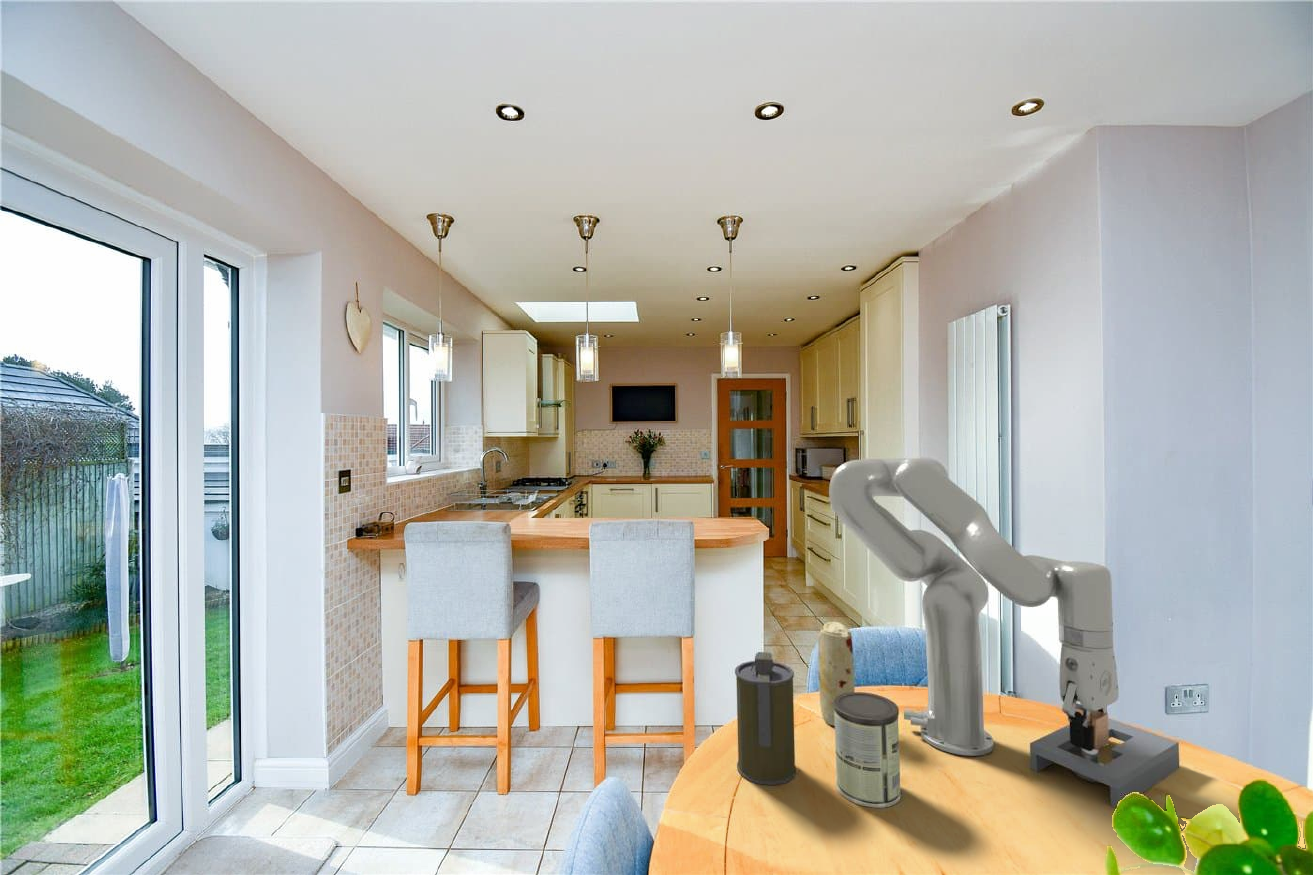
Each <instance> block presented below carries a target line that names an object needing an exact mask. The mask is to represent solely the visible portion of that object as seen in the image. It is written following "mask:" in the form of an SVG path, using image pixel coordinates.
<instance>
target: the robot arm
mask: <svg viewBox="0 0 1313 875" xmlns="http://www.w3.org/2000/svg"><path fill="white" fill-rule="evenodd" d="M828 488H829V489H828V494H829V495H828V496H829V502H830V506H831V507H832V510H833V511H834V513H835V515H836V516H837V517H838V519H839V520H840V521H841V523H842V524H844V526H845V527H846V528H847V529H848V530H849V531H850V532H851V533H852V534H854V535H855V537H857V539H858V540H859V541H860V542H861V543H863V545H864V546H865V547H866V548H867V549H868V550H869V551H870V552H871V553H872V554H873V555H874V556H875V557H876V558H877V559H878V560H879V561H880V562H881V563H882V564H883V565H884V566H885V567H886V568H887V569H888V570H889V572H890V573H891V574H893V575H894V576H895V577H897V578H898V579H899V580H901V581H904V582H908V583H910V582H912V583H914V582H918V581H921V582H923V584H924V585H926V588H925V590H924V592H923V594H922V595H923V596H922V601H921V603H922V604H921V605H922V615H923V622H924V629H925V643H926V644H925V645H926V648H925V649H926V666H927V667H926V670H927V671H926V673H927V676H926V677H927V705H926V706H925V710H922V709H920V711H916V710H913V709H906V708H904V709H903V720H904V721H905V720H906V721H910V726H917V727H918V726H920V735H921V738H922V739H923V740H924V741H926V743H928V744H929V745H930V746H933V748H936V749H939V750H940V751H943V752H947V753H950V754H953V755H959V756H965V757H966V756H967V757H978V756H984V755H987V754H989V753H990V752H992V751H993V750H994V747H995V744H994V741H995V740H994V738H993V736H992V735H991V734H990V733H989V732H988V731H986V730H984V729H985V727H984V726H985V725H984V695H983V694H984V693H983V690H984V688H983V686H984V685H983V662H982V660H983V659H982V658H983V656H982V642H981V641H982V640H981V632H980V624H979V623H980V622H979V620H980V619H979V618H980V617H979V616H980V613H981V612H982V611H983V609H984V608H985V607H986V605H987V603H988V601H989V588H988V585H987V583H986V581H987V582H988V583H989V584H990V585H991V586H992V587H994V588H995V589H996V590H997V591H998V592H999V593H1000V594H1002V595H1003V596H1004V597H1005V598H1006V599H1008V600H1009V601H1011V602H1012V603H1014V604H1016V605H1019V606H1021V607H1025V608H1036V607H1040V606H1042V605H1044V604H1046V603H1047V602H1048V600H1050V599H1051V598H1053V597H1054V598H1056V600H1057V615H1058V616H1057V618H1058V642H1059V643H1061V647H1060V658H1059V694H1060V695H1059V696H1060V699H1061V701H1062V702H1063V703H1062V708H1061V712H1062V713H1064V714H1065V715H1066V716H1067V720H1068V722H1069V724H1070V743H1071V744H1072V745H1075V746H1077V747H1080V748H1082V749H1085V750H1088V751H1092V750H1093V731H1092V727H1091V726H1089V725H1090V712H1095V711H1100V712H1103V713H1106V714H1108V706H1109V705H1112V704H1114V703H1116V702H1117V701H1118V699H1119V681H1118V672H1117V664H1116V663H1117V662H1116V656H1115V651H1114V628H1113V627H1114V625H1113V624H1114V622H1113V617H1114V616H1113V594H1112V593H1113V590H1112V588H1113V587H1112V574H1111V571H1110V570H1109V569H1108V568H1107V567H1106V566H1104V565H1101V564H1099V563H1094V562H1093V563H1092V562H1087V561H1063V560H1060V559H1053V558H1048V557H1044V556H1038V555H1023V554H1021V553H1020V552H1019V551H1018V550H1016V548H1014V546H1012V545H1011V544H1010V543H1009V542H1008V541H1007V540H1006V539H1005V538H1004V537H1003V536H1002V535H1001V534H1000V533H999V531H997V529H996V527H995V526H994V525H993V523H992V521H991V519H990V516H989V514H988V513H987V511H986V509H985V508H984V507H983V505H982V504H980V503H979V502H978V501H977V500H975V499H974V498H973V497H972V496H971V495H969V494H968V493H967V492H966V491H965V490H963V489H962V488H961V487H959V486H958V485H957V484H956V483H955V482H954V481H952V480H951V479H950V478H949V473H948V471H947V468H945V466H944V465H943V464H942V463H941V462H940V461H938V460H936V459H934V458H930V457H913V458H863V459H854V460H853V459H852V460H850V461H846V462H844V463H842V464H841V465H840V466H838V467H837V468H836V469H835V470H834V472H833V474H832V476H831V479H830V483H829V486H828ZM874 497H897V498H898V497H903V498H904V499H905V500H906V501H907V502H908V503H909V504H910V505H912V506H913V507H914V508H915V509H916V510H918V511H919V513H921V514H922V515H923V516H924V517H925V518H927V519H928V520H929V522H931V523H932V524H934V526H935V527H936V528H938V530H939V531H941V532H942V533H943V534H944V535H946V537H947V538H948V539H949V540H950V541H951V543H952V544H953V546H955V548H956V549H957V550H958V551H959V552H960V554H961V555H962V557H961V556H960V555H959V554H958V553H957V552H955V551H954V550H953V549H952V548H951V547H950V546H949V545H948V544H947V543H945V541H943V540H942V539H941V538H939V537H938V536H936V535H935V534H933V533H931V532H930V531H927V530H923V529H912V530H911V529H909V528H908V527H906V526H905V525H904V524H903V523H901V521H899V520H898V519H897V517H895V516H894V515H893V513H891V511H889V510H887V509H886V508H885V507H883V506H882V505H880V504H879V503H878V502H876V500H875V499H874ZM963 558H964V559H965V560H966V561H967V562H966V561H965V560H964V559H963ZM985 580H986V581H985ZM1077 702H1079V703H1077ZM1076 708H1077V709H1080V710H1083V716H1082V714H1081V713H1080V712H1077V710H1076Z"/></svg>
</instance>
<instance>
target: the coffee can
mask: <svg viewBox="0 0 1313 875" xmlns="http://www.w3.org/2000/svg"><path fill="white" fill-rule="evenodd" d="M833 705H834V715H835V726H834V738H835V739H834V740H835V745H834V746H835V769H836V775H835V776H836V782H835V786H836V789H837V791H838V792H839V793H840V794H841V796H842V797H844V798H845V799H846V800H848V801H850V802H851V803H854V804H856V805H859V806H863V807H867V808H874V809H875V808H876V809H877V808H878V809H882V808H890V807H893V806H894V805H896V804H898V802H899V801H900V800H901V798H902V793H901V792H902V790H901V768H900V766H901V764H900V741H899V740H900V736H899V735H900V734H899V713H900V709H899V707H898V705H897V704H896V703H895V702H894V701H893V700H891V699H889V698H888V697H884V696H882V695H879V694H876V693H872V692H871V693H870V692H861V691H858V692H857V691H854V692H851V693H845V694H841V695H839V696H837V697H836V698H835V699H834V701H833Z"/></svg>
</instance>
